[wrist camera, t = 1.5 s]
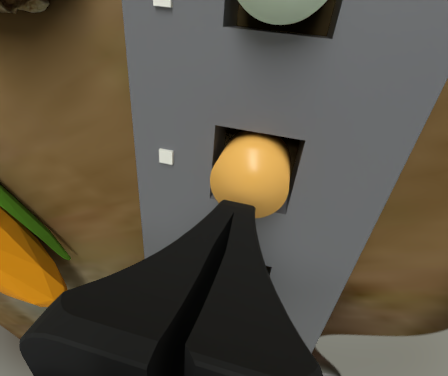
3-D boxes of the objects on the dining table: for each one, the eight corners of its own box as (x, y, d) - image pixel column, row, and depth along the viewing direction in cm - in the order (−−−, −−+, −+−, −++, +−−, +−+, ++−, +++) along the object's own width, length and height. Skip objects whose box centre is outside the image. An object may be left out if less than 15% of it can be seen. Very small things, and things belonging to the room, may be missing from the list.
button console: (559, -250, 9) (676, -375, 6) (310, 319, 24) (311, 355, 22) (142, -235, 11) (89, -322, 8) (163, 280, 27) (148, 308, 24)
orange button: (298, 135, 15) (297, 157, 12) (283, 195, 17) (280, 225, 15) (226, 122, 16) (212, 142, 13) (220, 183, 18) (207, 209, 15)
